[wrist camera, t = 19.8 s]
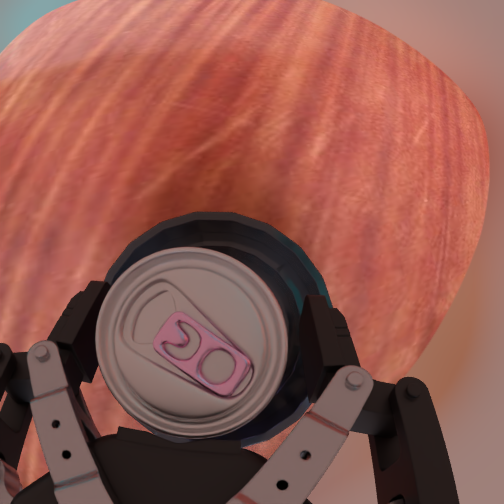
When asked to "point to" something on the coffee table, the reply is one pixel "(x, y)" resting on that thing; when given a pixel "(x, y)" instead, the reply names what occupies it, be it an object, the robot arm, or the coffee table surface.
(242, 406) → the beverage can
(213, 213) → the dark round dish
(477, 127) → the coffee table surface
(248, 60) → the coffee table surface
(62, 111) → the coffee table surface
